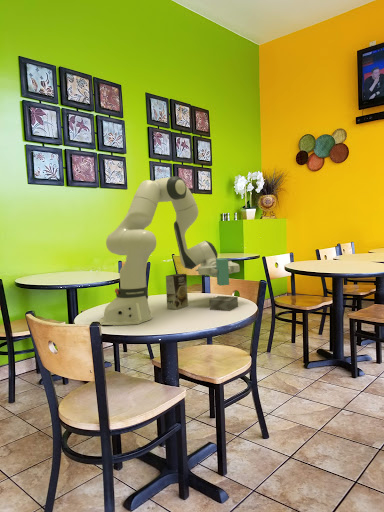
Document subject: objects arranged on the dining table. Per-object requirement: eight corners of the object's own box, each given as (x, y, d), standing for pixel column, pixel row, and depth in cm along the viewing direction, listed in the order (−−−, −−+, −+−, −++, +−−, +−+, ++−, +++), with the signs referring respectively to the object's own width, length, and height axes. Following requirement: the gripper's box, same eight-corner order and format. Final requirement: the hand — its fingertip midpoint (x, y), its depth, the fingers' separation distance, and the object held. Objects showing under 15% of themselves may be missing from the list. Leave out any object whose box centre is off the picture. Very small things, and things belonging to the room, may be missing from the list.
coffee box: (177, 309, 189) (175, 276, 188) (166, 308, 193) (164, 275, 192) (188, 306, 196) (187, 273, 195) (178, 305, 200) (176, 273, 199)
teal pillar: (219, 285, 184) (218, 259, 183) (217, 284, 188) (215, 259, 187) (229, 284, 184) (227, 259, 183) (226, 283, 189) (225, 258, 188)
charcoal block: (209, 310, 185) (209, 299, 185) (218, 306, 194) (218, 296, 193) (229, 311, 180) (229, 300, 180) (237, 307, 189) (237, 296, 188)
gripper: (194, 263, 196) (201, 265, 182) (233, 260, 200) (243, 262, 187) (195, 276, 196) (201, 279, 183) (234, 272, 201) (243, 275, 187)
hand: (223, 270), depth 185 cm, fingers closed on teal pillar, 4 cm apart
